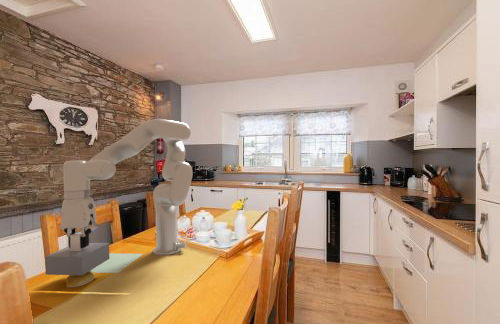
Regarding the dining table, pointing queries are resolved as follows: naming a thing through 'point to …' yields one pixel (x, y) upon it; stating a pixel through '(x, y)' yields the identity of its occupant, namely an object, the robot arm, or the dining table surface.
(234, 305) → the dining table surface
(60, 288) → the dining table surface
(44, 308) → the dining table surface
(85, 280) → the bread roll
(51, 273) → the cover
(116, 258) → the sage mat
